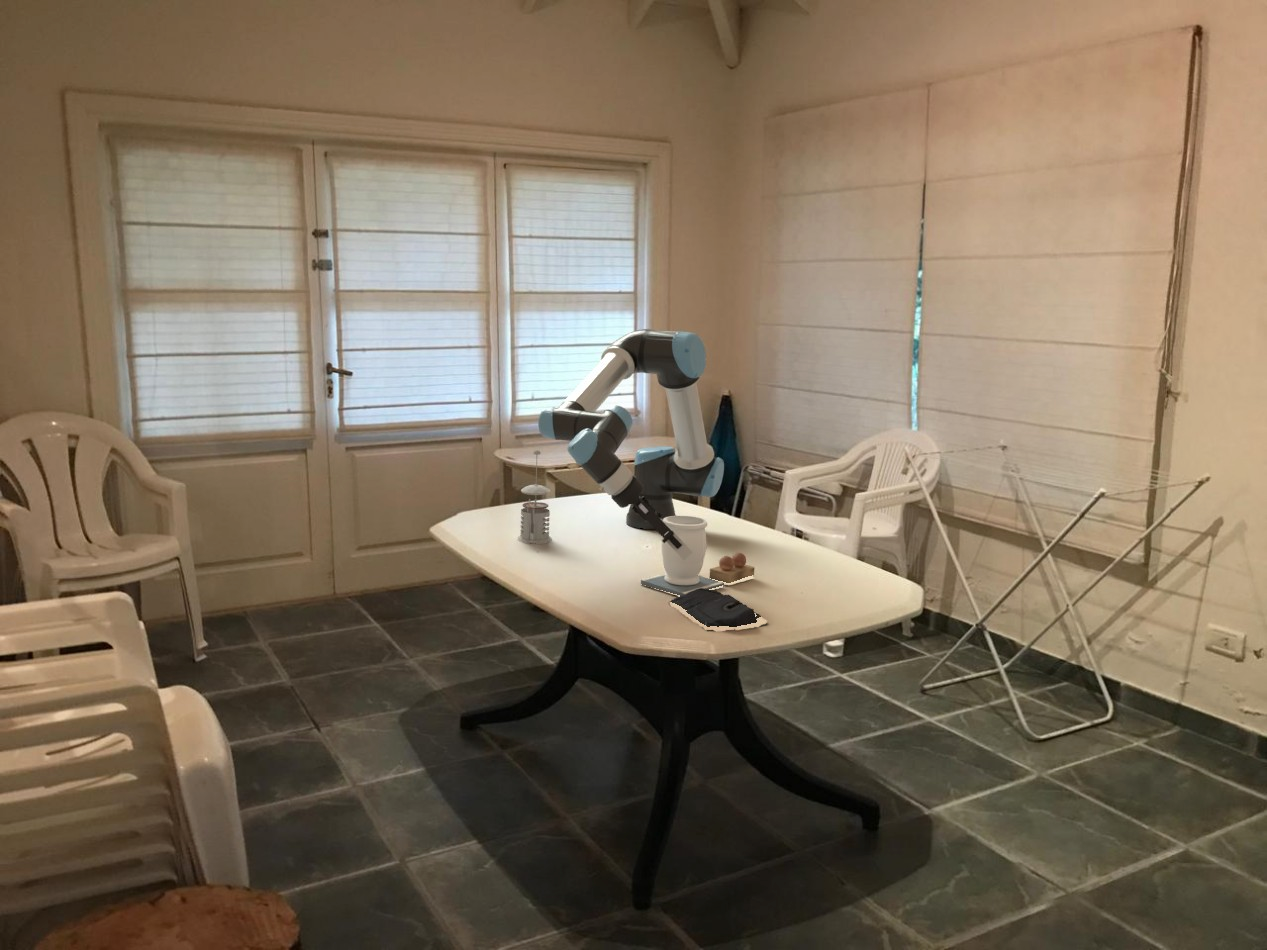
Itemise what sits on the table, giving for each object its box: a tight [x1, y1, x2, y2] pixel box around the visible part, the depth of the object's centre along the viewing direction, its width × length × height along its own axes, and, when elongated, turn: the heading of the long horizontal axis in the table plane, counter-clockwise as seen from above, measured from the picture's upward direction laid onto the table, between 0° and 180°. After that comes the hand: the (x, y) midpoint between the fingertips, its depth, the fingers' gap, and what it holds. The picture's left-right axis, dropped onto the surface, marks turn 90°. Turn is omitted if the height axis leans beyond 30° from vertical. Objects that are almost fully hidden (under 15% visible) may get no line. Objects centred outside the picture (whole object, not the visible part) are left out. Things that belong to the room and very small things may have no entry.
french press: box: [517, 449, 553, 545], centre depth 277 cm, size 10×12×25 cm
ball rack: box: [709, 552, 755, 583], centre depth 250 cm, size 10×6×6 cm, turn 136°
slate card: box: [640, 572, 725, 596], centre depth 243 cm, size 14×14×1 cm
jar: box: [661, 515, 708, 586], centre depth 242 cm, size 11×10×15 cm
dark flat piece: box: [669, 588, 762, 627], centre depth 224 cm, size 15×22×5 cm
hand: (681, 548), depth 241 cm, fingers open, 13 cm apart
